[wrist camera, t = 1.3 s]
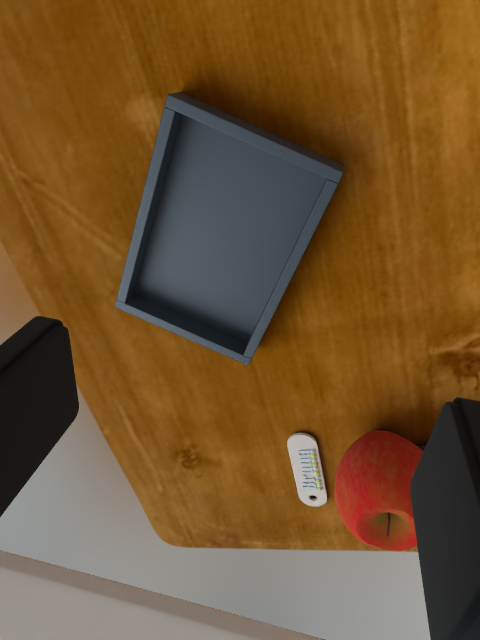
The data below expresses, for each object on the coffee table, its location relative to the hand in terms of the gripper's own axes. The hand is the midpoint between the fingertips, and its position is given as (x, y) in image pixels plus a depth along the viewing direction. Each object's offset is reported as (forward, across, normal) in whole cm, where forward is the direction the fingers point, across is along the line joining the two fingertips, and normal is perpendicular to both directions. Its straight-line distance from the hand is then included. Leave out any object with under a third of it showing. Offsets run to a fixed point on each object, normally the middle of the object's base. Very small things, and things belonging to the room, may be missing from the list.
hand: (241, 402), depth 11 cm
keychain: (+25, -5, +30) cm, 39 cm away
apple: (+25, -11, +23) cm, 35 cm away
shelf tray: (+25, +6, +6) cm, 26 cm away
